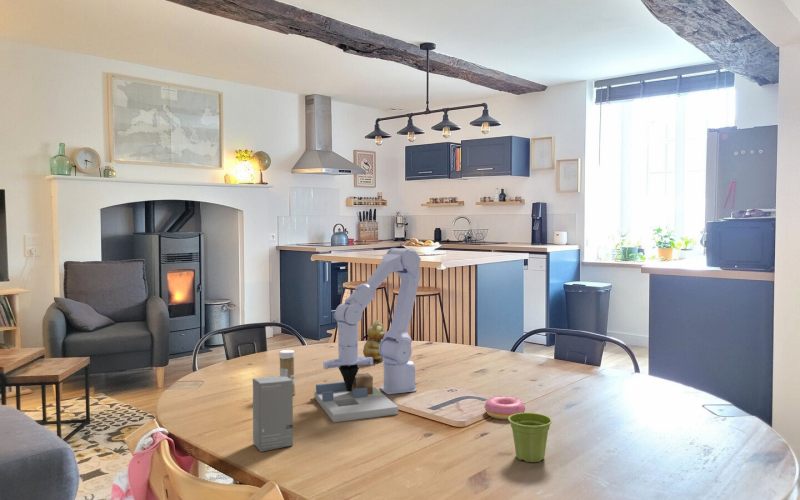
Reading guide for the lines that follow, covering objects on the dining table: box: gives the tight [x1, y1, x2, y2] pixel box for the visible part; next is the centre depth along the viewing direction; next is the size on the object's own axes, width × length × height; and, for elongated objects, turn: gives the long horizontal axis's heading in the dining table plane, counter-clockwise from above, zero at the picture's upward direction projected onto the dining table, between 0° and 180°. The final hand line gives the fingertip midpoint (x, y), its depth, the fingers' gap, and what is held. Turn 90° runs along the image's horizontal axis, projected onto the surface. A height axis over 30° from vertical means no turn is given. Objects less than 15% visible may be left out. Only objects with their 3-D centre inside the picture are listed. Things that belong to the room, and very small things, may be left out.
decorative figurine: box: [362, 319, 386, 363], centre depth 228 cm, size 10×8×15 cm
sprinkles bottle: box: [278, 349, 296, 396], centre depth 184 cm, size 5×5×14 cm
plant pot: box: [508, 412, 553, 463], centre depth 134 cm, size 9×9×9 cm
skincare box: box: [252, 375, 294, 453], centre depth 143 cm, size 8×7×16 cm
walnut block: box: [352, 372, 374, 394], centre depth 179 cm, size 5×5×5 cm
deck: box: [313, 381, 399, 423], centre depth 173 cm, size 18×24×4 cm
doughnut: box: [484, 395, 526, 421], centre depth 164 cm, size 11×11×4 cm
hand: (348, 390), depth 178 cm, fingers closed
